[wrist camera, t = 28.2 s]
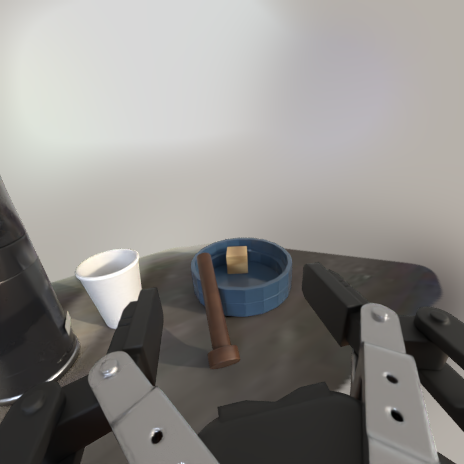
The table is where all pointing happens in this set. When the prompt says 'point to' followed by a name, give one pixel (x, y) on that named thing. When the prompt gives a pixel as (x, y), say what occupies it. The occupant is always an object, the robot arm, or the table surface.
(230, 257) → the wooden block
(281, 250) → the bowl
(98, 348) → the table surface
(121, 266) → the dixie cup
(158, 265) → the table surface
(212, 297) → the cylinder
